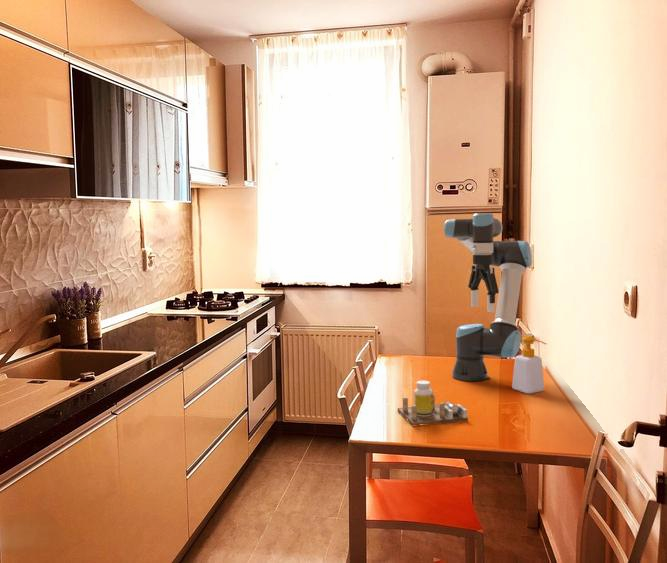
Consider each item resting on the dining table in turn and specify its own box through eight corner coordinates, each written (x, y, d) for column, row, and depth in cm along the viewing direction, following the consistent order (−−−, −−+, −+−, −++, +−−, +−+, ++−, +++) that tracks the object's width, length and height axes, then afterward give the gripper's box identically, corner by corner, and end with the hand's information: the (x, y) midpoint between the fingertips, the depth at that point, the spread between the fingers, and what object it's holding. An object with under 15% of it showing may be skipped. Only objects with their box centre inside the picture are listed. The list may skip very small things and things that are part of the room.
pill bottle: (432, 418, 198) (432, 385, 197) (413, 417, 199) (413, 384, 198) (433, 411, 204) (433, 380, 203) (414, 411, 205) (414, 379, 204)
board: (397, 411, 209) (397, 394, 209) (448, 406, 213) (448, 390, 213) (412, 426, 194) (412, 408, 193) (467, 420, 198) (467, 403, 197)
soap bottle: (536, 398, 221) (537, 341, 218) (510, 389, 233) (510, 335, 231) (554, 394, 225) (555, 338, 223) (527, 385, 237) (528, 332, 235)
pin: (444, 410, 205) (444, 401, 205) (451, 409, 206) (451, 401, 205) (452, 416, 198) (452, 408, 198) (460, 415, 199) (460, 407, 199)
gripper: (459, 252, 229) (459, 305, 231) (489, 256, 205) (489, 314, 207) (477, 252, 231) (477, 304, 233) (508, 255, 206) (508, 313, 209)
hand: (482, 309), depth 220 cm, fingers open, 13 cm apart
